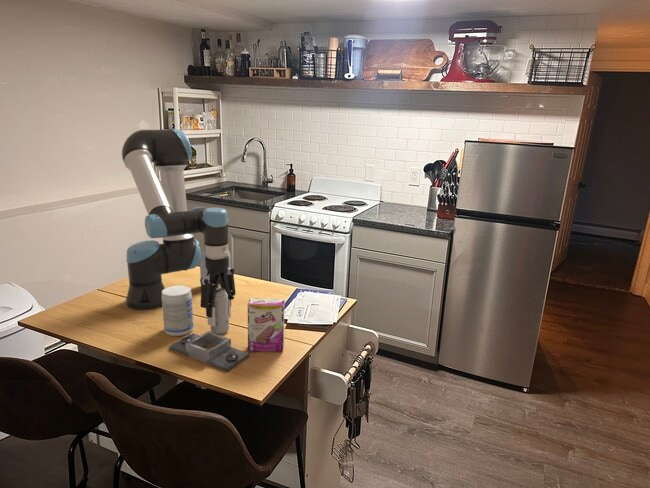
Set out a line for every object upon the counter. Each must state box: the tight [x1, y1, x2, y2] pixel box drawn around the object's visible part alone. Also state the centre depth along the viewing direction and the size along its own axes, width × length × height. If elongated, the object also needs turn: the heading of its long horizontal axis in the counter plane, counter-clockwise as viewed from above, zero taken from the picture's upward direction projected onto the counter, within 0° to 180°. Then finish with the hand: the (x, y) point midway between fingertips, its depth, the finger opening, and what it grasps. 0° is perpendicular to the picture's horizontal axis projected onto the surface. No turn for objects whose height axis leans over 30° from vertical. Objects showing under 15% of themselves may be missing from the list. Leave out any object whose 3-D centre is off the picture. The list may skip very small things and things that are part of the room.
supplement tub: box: [161, 285, 195, 337], centre depth 157 cm, size 10×10×15 cm
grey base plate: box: [168, 330, 250, 372], centre depth 144 cm, size 24×10×4 cm, turn 59°
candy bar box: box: [247, 297, 286, 353], centre depth 146 cm, size 11×5×16 cm, turn 91°
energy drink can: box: [210, 287, 230, 336], centre depth 157 cm, size 6×6×15 cm
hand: (219, 320), depth 158 cm, fingers open, 7 cm apart
